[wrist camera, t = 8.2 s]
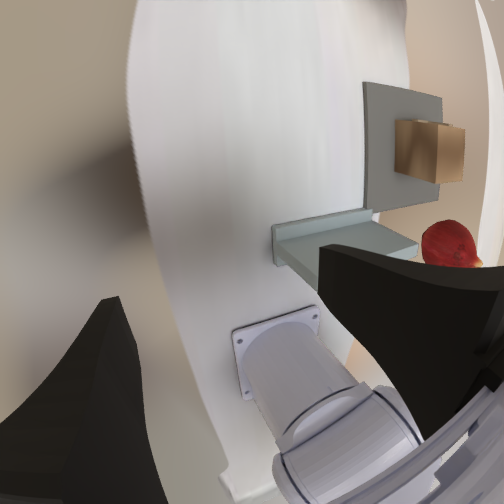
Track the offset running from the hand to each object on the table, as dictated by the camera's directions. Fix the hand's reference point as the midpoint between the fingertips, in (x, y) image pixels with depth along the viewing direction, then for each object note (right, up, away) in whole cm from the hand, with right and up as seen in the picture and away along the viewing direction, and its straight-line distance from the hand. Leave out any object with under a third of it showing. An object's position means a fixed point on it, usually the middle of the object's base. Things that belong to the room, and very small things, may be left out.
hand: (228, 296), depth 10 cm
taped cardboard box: (+15, +11, +13) cm, 22 cm away
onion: (+19, +3, +18) cm, 27 cm away
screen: (+6, +3, +13) cm, 15 cm away
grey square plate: (+15, +11, +13) cm, 23 cm away
